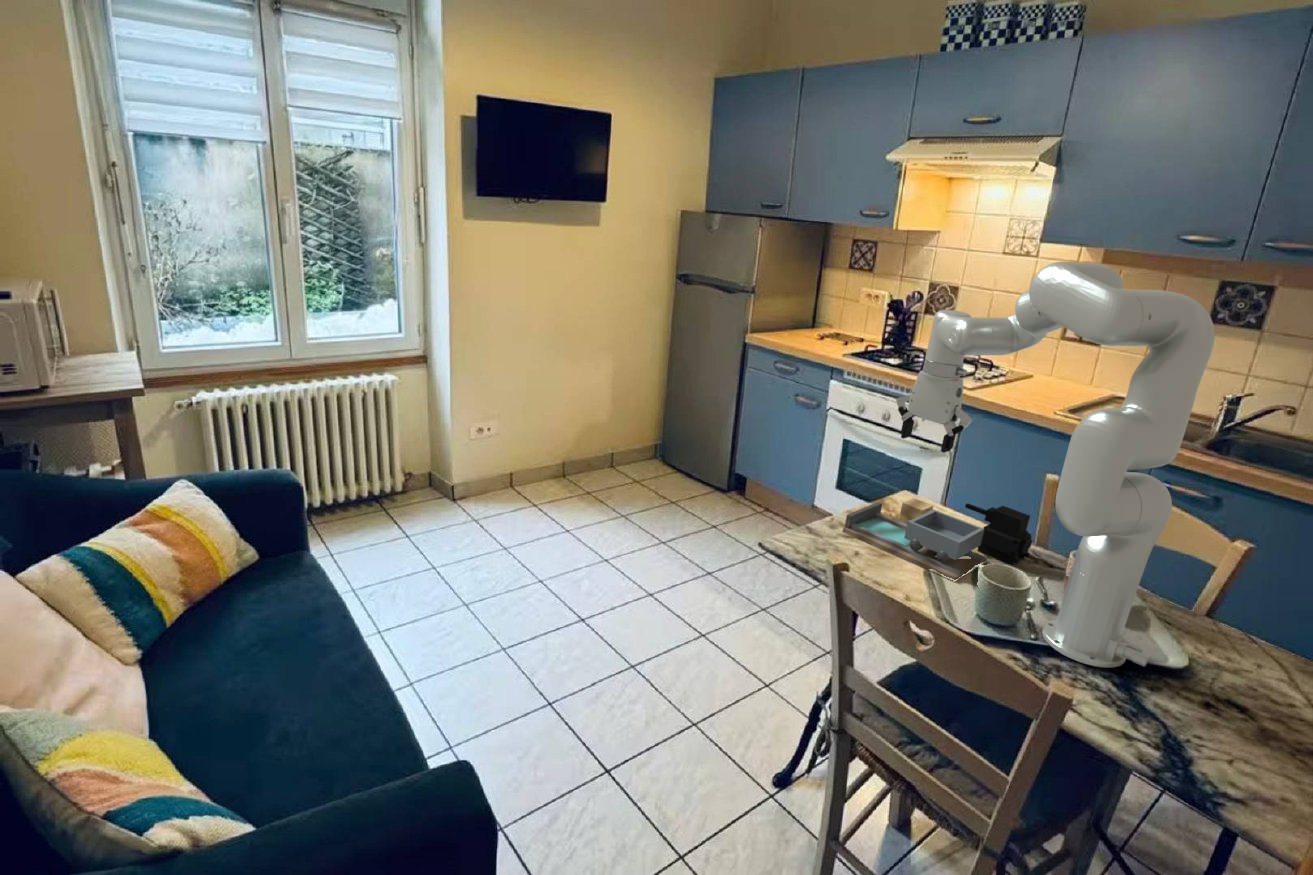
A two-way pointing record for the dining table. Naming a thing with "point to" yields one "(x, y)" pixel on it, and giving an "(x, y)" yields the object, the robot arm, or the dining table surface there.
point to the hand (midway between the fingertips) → (925, 444)
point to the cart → (943, 535)
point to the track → (902, 542)
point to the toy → (1004, 534)
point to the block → (913, 509)
